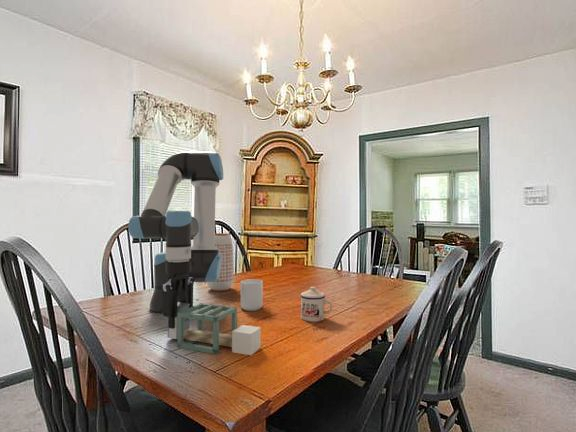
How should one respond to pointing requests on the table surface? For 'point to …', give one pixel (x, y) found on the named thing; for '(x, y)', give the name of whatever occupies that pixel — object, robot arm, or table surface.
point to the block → (246, 339)
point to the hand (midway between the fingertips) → (178, 335)
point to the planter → (224, 263)
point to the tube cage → (201, 317)
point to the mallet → (198, 334)
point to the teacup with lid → (313, 305)
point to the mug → (251, 294)
